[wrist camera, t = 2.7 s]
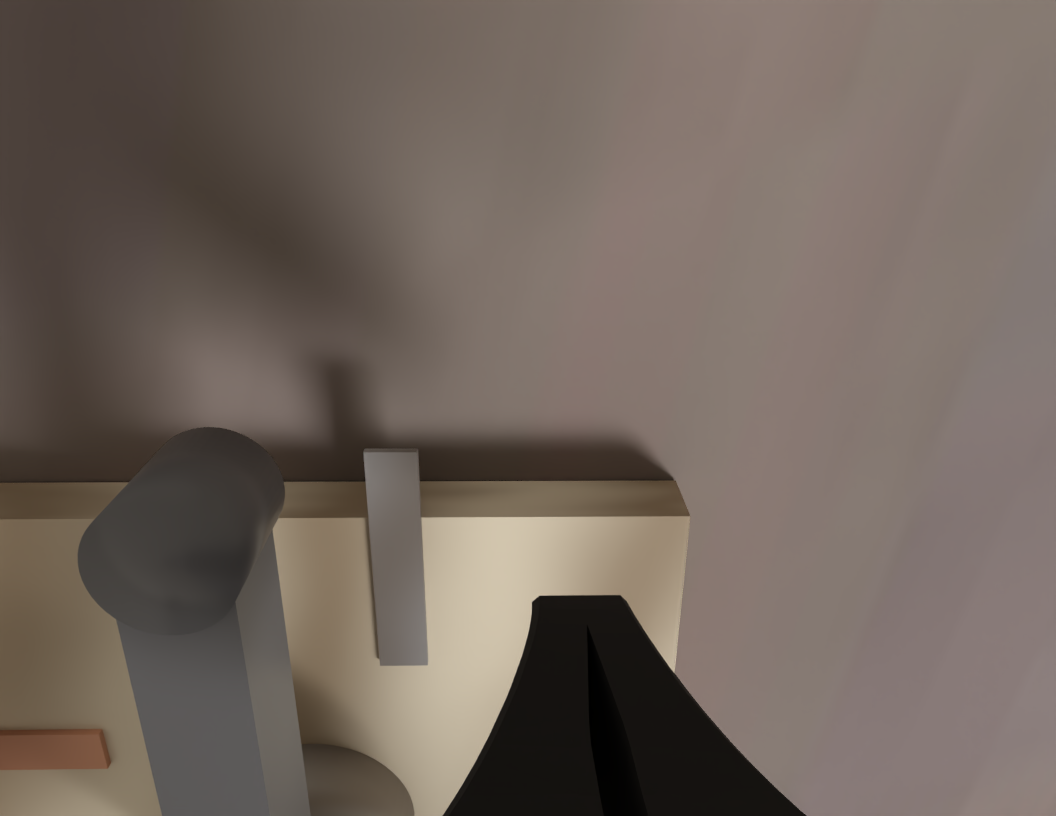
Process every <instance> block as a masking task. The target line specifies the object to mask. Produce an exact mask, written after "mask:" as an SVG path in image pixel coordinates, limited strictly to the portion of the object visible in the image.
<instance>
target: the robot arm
mask: <svg viewBox="0 0 1056 816" xmlns="http://www.w3.org/2000/svg"><path fill="white" fill-rule="evenodd" d="M443 816H806V815H805V814H804V813H802V812H801V811H800V810H799V809H798V808H797V807H796V806H795V805H794V804H793V803H791V802H790V801H789V800H788V799H787V798H786V797H785V796H784V795H783V794H782V793H781V792H779V791H778V790H777V789H776V788H775V787H774V786H773V785H772V784H771V783H770V782H769V781H768V780H767V779H766V778H765V777H764V776H763V775H762V774H761V773H760V772H759V771H758V770H757V769H756V768H755V767H754V766H753V765H752V764H751V763H750V762H749V761H748V760H747V759H746V758H745V757H744V756H743V755H742V754H741V753H740V751H739V750H738V749H737V748H736V747H735V746H734V745H733V744H732V743H731V742H730V741H729V739H728V738H727V737H726V736H725V735H724V734H723V733H722V731H721V730H720V729H719V728H718V727H717V726H716V725H715V723H714V722H713V721H712V720H711V719H710V718H709V716H708V715H707V714H706V713H705V712H704V711H703V709H702V708H701V707H700V706H699V704H698V703H697V702H696V701H695V699H694V698H693V697H692V696H691V694H690V693H689V692H688V691H687V689H686V688H685V687H684V685H683V684H682V683H681V681H680V680H679V679H678V677H677V676H676V675H675V673H674V672H673V671H672V670H671V668H670V667H669V665H668V664H667V663H666V661H665V660H664V659H663V657H662V656H661V654H660V653H659V651H658V650H657V648H656V647H655V646H654V644H653V643H652V641H651V640H650V638H649V637H648V635H647V634H646V632H645V631H644V629H643V628H642V626H641V624H640V623H639V621H638V620H637V618H636V616H635V615H634V613H633V611H632V610H631V608H630V606H629V604H628V603H627V601H626V600H625V599H624V598H623V597H622V596H621V595H549V596H538V597H537V598H536V599H535V600H534V601H532V615H531V622H530V628H529V632H528V636H527V640H526V643H525V647H524V650H523V654H522V657H521V660H520V663H519V665H518V668H517V671H516V674H515V676H514V679H513V682H512V685H511V688H510V690H509V693H508V695H507V697H506V700H505V702H504V704H503V706H502V708H501V711H500V713H499V715H498V717H497V719H496V722H495V724H494V726H493V728H492V730H491V733H490V735H489V737H488V739H487V741H486V743H485V745H484V746H483V748H482V750H481V752H480V754H479V756H478V758H477V760H476V762H475V763H474V765H473V767H472V769H471V770H470V772H469V774H468V776H467V777H466V779H465V781H464V783H463V784H462V786H461V788H460V789H459V791H458V793H457V794H456V796H455V797H454V799H453V800H452V802H451V803H450V805H449V807H448V808H447V810H446V811H445V813H444V814H443Z"/></svg>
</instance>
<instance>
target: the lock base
mask: <svg viewBox="0 0 1056 816" xmlns="http://www.w3.org/2000/svg"><path fill="white" fill-rule="evenodd" d="M363 455H364V468H365V480H366V482H284V486H285V501H284V505H283V509H282V511H281V514H280V516H279V518H278V520H277V522H276V524H275V526H274V528H273V536H274V544H275V551H276V559H277V566H278V574H279V581H280V589H281V596H282V604H283V611H284V619H285V626H286V634H287V641H288V649H289V656H290V664H291V671H292V679H293V686H294V694H295V701H296V708H297V716H298V723H299V731H300V738H301V746H302V753H303V761H304V768H305V776H306V783H307V791H308V798H309V806H310V813H311V816H443V814H444V813H445V811H446V810H447V808H448V807H449V805H450V803H451V802H452V800H453V799H454V797H455V796H456V794H457V793H458V791H459V789H460V788H461V786H462V784H463V783H464V781H465V779H466V777H467V776H468V774H469V772H470V770H471V769H472V767H473V765H474V763H475V762H476V760H477V758H478V756H479V754H480V752H481V750H482V748H483V746H484V745H485V743H486V741H487V739H488V737H489V735H490V733H491V730H492V728H493V726H494V724H495V722H496V719H497V717H498V715H499V713H500V711H501V708H502V706H503V704H504V702H505V700H506V697H507V695H508V693H509V690H510V688H511V685H512V682H513V679H514V676H515V674H516V671H517V668H518V665H519V663H520V660H521V657H522V654H523V650H524V647H525V643H526V640H527V636H528V632H529V628H530V622H531V615H532V601H534V600H535V599H536V598H537V597H538V596H549V595H621V596H622V597H623V598H624V599H625V600H626V601H627V603H628V604H629V606H630V608H631V610H632V611H633V613H634V615H635V616H636V618H637V620H638V621H639V623H640V624H641V626H642V628H643V629H644V631H645V632H646V634H647V635H648V637H649V638H650V640H651V641H652V643H653V644H654V646H655V647H656V648H657V650H658V651H659V653H660V654H661V656H662V657H663V659H664V660H665V661H666V663H667V664H668V665H669V667H670V668H671V670H672V671H673V672H675V662H676V652H677V642H678V633H679V623H680V613H681V603H682V594H683V584H684V574H685V564H686V555H687V545H688V535H689V525H690V514H689V512H688V509H687V507H686V505H685V502H684V500H683V497H682V495H681V493H680V490H679V488H678V485H677V483H676V481H420V479H419V458H418V448H391V449H364V452H363ZM128 483H129V482H75V483H0V816H162V813H161V809H160V805H159V801H158V796H157V792H156V788H155V784H154V779H153V775H152V771H151V766H150V762H149V758H148V754H147V749H146V745H145V741H144V737H143V732H142V728H141V724H140V720H139V715H138V711H137V707H136V702H135V698H134V694H133V690H132V685H131V681H130V677H129V673H128V668H127V664H126V660H125V655H124V651H123V647H122V643H121V638H120V634H119V630H118V626H117V621H116V619H115V618H113V617H112V616H111V615H109V614H108V613H107V612H105V611H104V610H103V609H102V608H101V607H100V606H99V605H98V604H97V603H96V602H95V600H94V599H93V598H92V597H91V595H90V594H89V592H88V591H87V589H86V588H85V586H84V583H83V581H82V579H81V576H80V573H79V568H78V548H79V544H80V541H81V538H82V536H83V534H84V532H85V530H86V529H87V528H88V526H89V525H90V524H91V523H92V522H93V520H94V519H95V518H96V517H97V516H98V515H99V514H100V513H101V512H102V511H103V510H104V509H105V507H106V506H107V505H108V504H109V503H110V502H111V501H112V500H113V499H114V498H115V497H116V496H117V495H118V493H119V492H120V491H121V490H122V489H123V488H124V487H125V486H126V485H127V484H128Z"/></svg>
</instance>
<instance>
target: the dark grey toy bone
mask: <svg viewBox="0 0 1056 816" xmlns="http://www.w3.org/2000/svg"><path fill="white" fill-rule="evenodd" d="M284 501H285V486H284V481H283V477H282V475H281V472H280V470H279V468H278V466H277V464H276V463H275V461H274V460H273V458H272V457H271V456H270V455H269V454H268V452H267V451H266V450H265V449H263V448H262V447H261V446H260V445H259V444H257V443H256V442H255V441H253V440H252V439H250V438H248V437H246V436H244V435H242V434H240V433H237V432H234V431H231V430H227V429H222V428H214V427H203V428H196V429H191V430H187V431H184V432H182V433H180V434H178V435H176V436H174V437H173V438H171V439H170V440H168V441H167V442H166V443H165V444H164V445H163V446H162V447H161V448H160V449H159V450H158V451H157V453H156V454H155V455H154V456H153V457H152V458H151V459H150V460H149V461H148V462H147V463H146V464H145V465H144V467H143V468H142V469H141V470H140V471H139V472H138V473H137V474H136V475H135V476H134V477H133V478H132V479H131V481H130V482H129V483H128V484H127V485H126V486H125V487H124V488H123V489H122V490H121V491H120V492H119V493H118V495H117V496H116V497H115V498H114V499H113V500H112V501H111V502H110V503H109V504H108V505H107V506H106V507H105V509H104V510H103V511H102V512H101V513H100V514H99V515H98V516H97V517H96V518H95V519H94V520H93V522H92V523H91V524H90V525H89V526H88V528H87V529H86V530H85V532H84V534H83V536H82V538H81V541H80V544H79V548H78V568H79V573H80V576H81V579H82V581H83V583H84V586H85V588H86V589H87V591H88V592H89V594H90V595H91V597H92V598H93V599H94V600H95V602H96V603H97V604H98V605H99V606H100V607H101V608H102V609H103V610H104V611H105V612H107V613H108V614H109V615H111V616H112V617H113V618H115V619H116V621H117V626H118V630H119V634H120V638H121V643H122V647H123V651H124V655H125V660H126V664H127V668H128V673H129V677H130V681H131V685H132V690H133V694H134V698H135V702H136V707H137V711H138V715H139V720H140V724H141V728H142V732H143V737H144V741H145V745H146V749H147V754H148V758H149V762H150V766H151V771H152V775H153V779H154V784H155V788H156V792H157V796H158V801H159V805H160V809H161V813H162V816H311V813H310V806H309V798H308V791H307V783H306V776H305V768H304V761H303V753H302V746H301V738H300V731H299V723H298V716H297V708H296V701H295V694H294V686H293V679H292V671H291V664H290V656H289V649H288V641H287V634H286V626H285V619H284V611H283V604H282V596H281V589H280V581H279V574H278V566H277V559H276V551H275V544H274V536H273V528H274V526H275V524H276V522H277V520H278V518H279V516H280V514H281V511H282V509H283V505H284Z"/></svg>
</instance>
